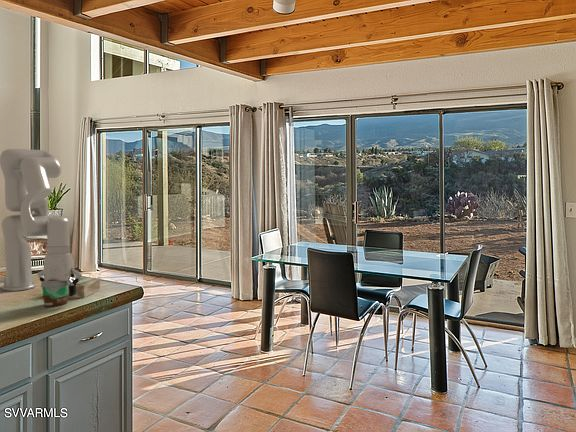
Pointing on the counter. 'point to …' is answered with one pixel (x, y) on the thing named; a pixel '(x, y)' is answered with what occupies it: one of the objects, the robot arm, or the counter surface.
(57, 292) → the food container
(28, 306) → the counter surface
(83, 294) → the birch stand
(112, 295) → the counter surface
